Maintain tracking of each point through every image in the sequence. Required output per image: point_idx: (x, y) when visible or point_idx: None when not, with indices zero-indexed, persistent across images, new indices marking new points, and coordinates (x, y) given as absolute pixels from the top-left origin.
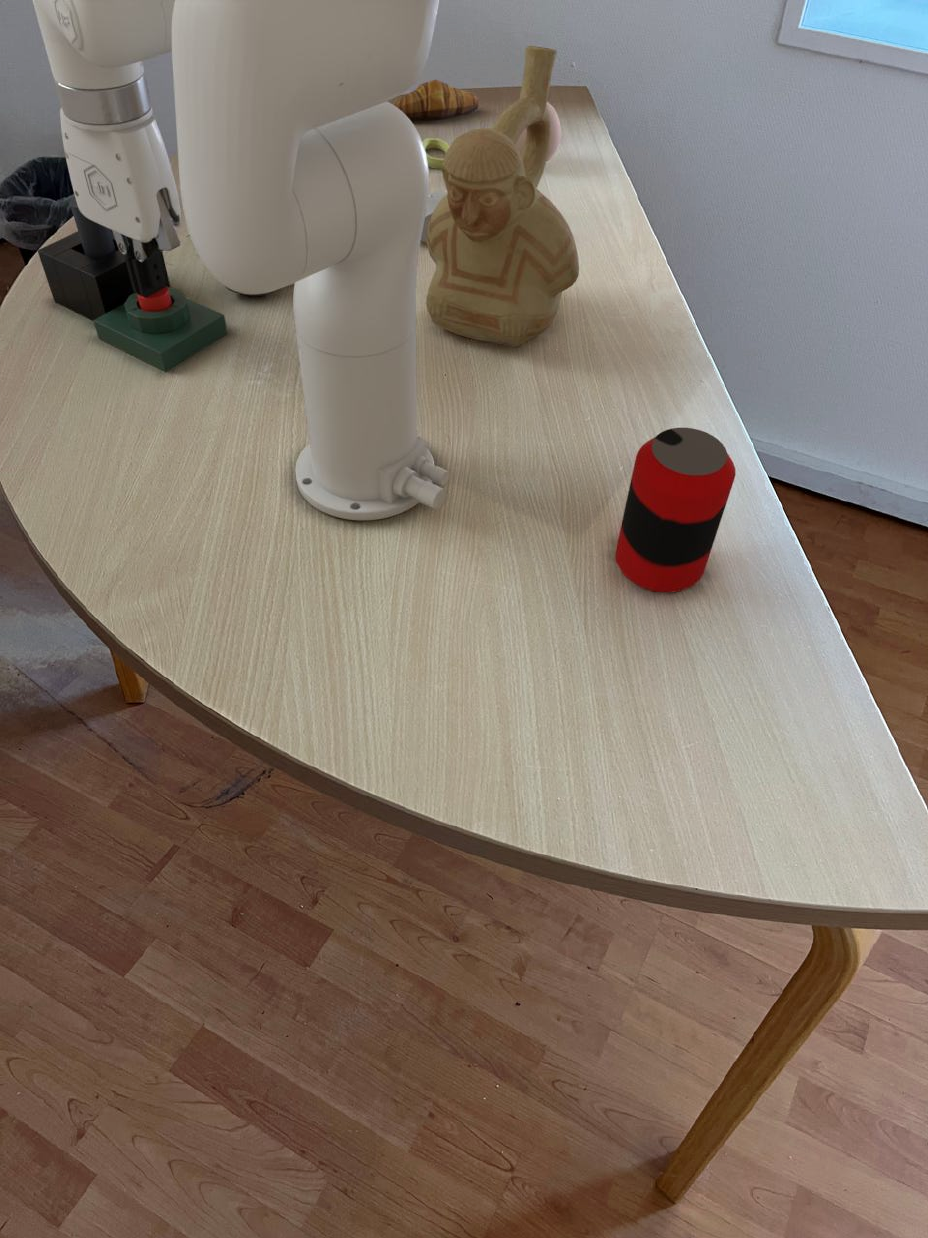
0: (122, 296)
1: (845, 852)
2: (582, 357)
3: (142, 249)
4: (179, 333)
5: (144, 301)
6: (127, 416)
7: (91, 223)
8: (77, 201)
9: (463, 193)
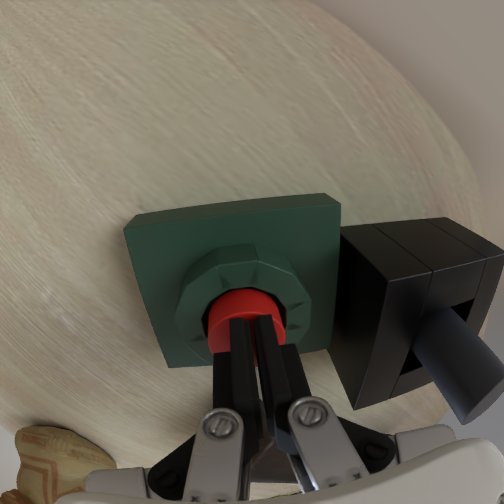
0: (348, 291)
1: None
2: (20, 427)
3: (193, 453)
4: (162, 294)
5: (232, 308)
6: (77, 93)
7: (462, 374)
8: (500, 471)
9: None
